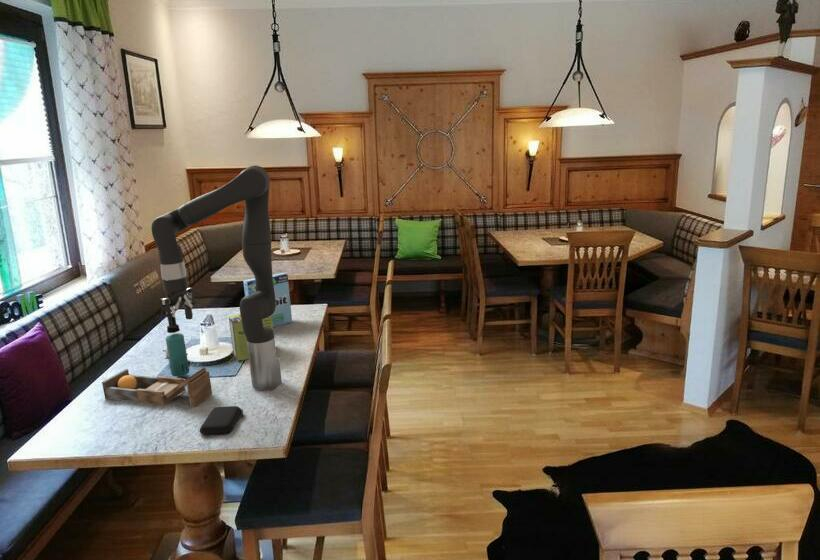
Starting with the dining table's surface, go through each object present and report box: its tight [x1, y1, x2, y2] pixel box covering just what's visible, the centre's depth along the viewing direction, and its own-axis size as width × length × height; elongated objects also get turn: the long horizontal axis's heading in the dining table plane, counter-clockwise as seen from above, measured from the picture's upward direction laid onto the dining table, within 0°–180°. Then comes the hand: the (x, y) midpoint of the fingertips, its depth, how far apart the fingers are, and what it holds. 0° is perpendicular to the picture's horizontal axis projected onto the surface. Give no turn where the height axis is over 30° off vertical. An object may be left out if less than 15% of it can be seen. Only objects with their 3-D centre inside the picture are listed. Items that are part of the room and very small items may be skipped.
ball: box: [118, 374, 137, 389], centre depth 201 cm, size 6×6×6 cm
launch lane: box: [101, 367, 213, 408], centre depth 197 cm, size 36×11×10 cm, turn 74°
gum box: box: [243, 272, 293, 328], centre depth 261 cm, size 20×5×23 cm, turn 127°
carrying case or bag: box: [199, 405, 244, 436], centre depth 177 cm, size 11×3×15 cm
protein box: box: [228, 314, 277, 362], centre depth 231 cm, size 10×15×16 cm
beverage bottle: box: [165, 323, 190, 378], centre depth 210 cm, size 6×7×20 cm
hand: (181, 323), depth 193 cm, fingers open, 8 cm apart
